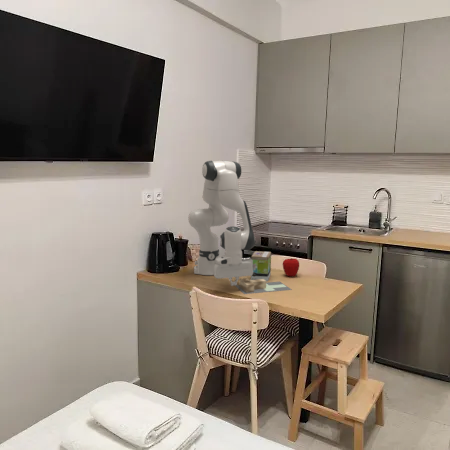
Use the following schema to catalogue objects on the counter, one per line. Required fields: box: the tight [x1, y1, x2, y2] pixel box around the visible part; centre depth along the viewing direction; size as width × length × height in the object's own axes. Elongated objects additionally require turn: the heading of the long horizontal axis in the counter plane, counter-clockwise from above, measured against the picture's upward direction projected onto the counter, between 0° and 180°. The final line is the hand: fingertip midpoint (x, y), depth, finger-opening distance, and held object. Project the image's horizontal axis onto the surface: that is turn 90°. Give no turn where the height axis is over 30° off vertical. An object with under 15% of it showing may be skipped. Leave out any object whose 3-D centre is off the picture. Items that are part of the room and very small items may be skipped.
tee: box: [238, 277, 267, 293], centre depth 219 cm, size 12×12×4 cm
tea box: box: [250, 250, 272, 282], centre depth 239 cm, size 15×10×15 cm, turn 168°
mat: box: [234, 281, 292, 295], centre depth 221 cm, size 16×26×1 cm, turn 106°
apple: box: [282, 257, 300, 277], centre depth 246 cm, size 10×10×11 cm
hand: (233, 285), depth 215 cm, fingers closed
